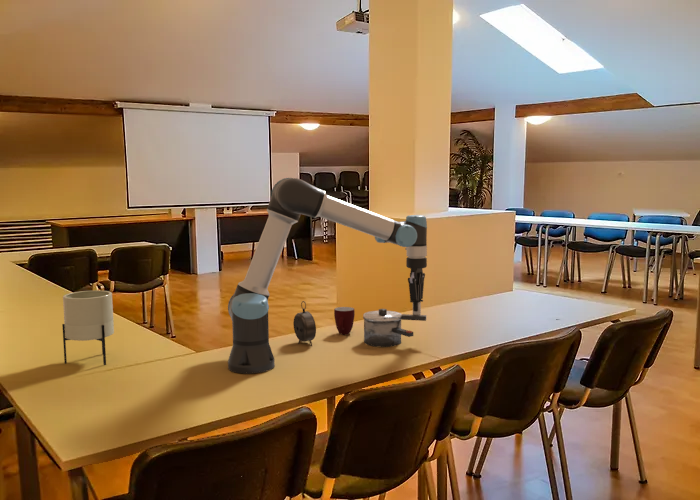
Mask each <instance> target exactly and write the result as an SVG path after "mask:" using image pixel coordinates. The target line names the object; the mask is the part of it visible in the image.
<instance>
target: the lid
mask: <svg viewBox="0 0 700 500" xmlns="http://www.w3.org/2000/svg"><path fill="white" fill-rule="evenodd" d="M362 318H363V320H364V319H365V320H367V321H371V322H395V321H399V320H401V321H419V322H420V321H421V322H423V321H424V322H427V314H421V315H413V314H407V313H406V314H405V313H403V314H402V313H401V312H398V311H393V310H388V309H387V308H379V309H378V310H371V311H366V312H364V313H363V317H362Z"/></svg>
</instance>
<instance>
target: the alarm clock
mask: <svg viewBox="0 0 700 500" xmlns="http://www.w3.org/2000/svg"><path fill="white" fill-rule="evenodd" d="M303 303H304V305H305V306H304V308H303ZM300 306H301V309H302V311H300V312H297V313H296V314H295V315H294V318H293V331H294V333H295V336H296V337H297V339H298V343H297V344H298V345H299V344H300V342H303V343H305V342H309V344H310V346H312V347H313V343H312V341H313V340H314V339H315V337H316V335H317V325H316V321H315V319H314V316H313V315H312V313H311V312H310V311H307V310H306V309H307V304H306V301H304V300H303V301H301V304H300ZM305 310H306V311H305Z"/></svg>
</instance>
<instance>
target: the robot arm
mask: <svg viewBox="0 0 700 500" xmlns="http://www.w3.org/2000/svg"><path fill="white" fill-rule="evenodd" d="M270 193H271V194H270V196H271V197H270V200H269V202H268V205H267V208H266V212H267V213H268V217H267V220H266V223H265V225H264V228H263V230H262V233H261V235H260V238H259V241H258V243H257V246H256V248H255V251H254V254H253V256H252V259H251V261H250V264H249V266H248V270H247V272H246V275H245V278H244V279H243V280H242V281H239V282H237V283H238V284H237V285H236V288H235V290H234V293H233V295H231V297H230V299H229V300H228V304H227V311H228V315H229V316H230V318H231V321H232V323H231V324H232V348H231V350H230V352H229V356H228V360H227V369H228V370H229V371H230V372H232V373H237V374H245V375H246V374H247V375H248V374H249V375H250V374H259V373H265V372H267V371H270V370H272V369H274V368H275V365H276V364H275V356H274V353H273V352H272V348H271V345H270V339H269V338H270V337H269V336H270V333H269V330H270V329H269V328H270V327H269V308H270V306H269V297H270V292H269V289H268V288H269V286H270V283H271V280H272V279H273V276H274V272H275V270H276V267H277V265H278V262H279V260H280V257H281V255H282V252H283V249H284V247H285V244H286V243H287V238H288V237H289V234H290V232H291V228H292V226H293V225H294V224H296V223H299V220H300V218H301V215H304V216H307V217H311V218H314V219H317V218H319V217H320V218H322V219H325V220H327V221H330V222H333V223H337V224H338V225H341V226H345V227H347V228H350V229H352V230H356V231H358V232H361V233H364V234H367V235H369V236H373V237H374V239H375V241H376V243H379V244H387V243H390V244H392V245H393V244H394V245H396V246H400V247H402V248H405V251H406V259H405V260H406V261H405V264H406V267H407V268H408V269H410V273H409V277H408V278H407V282H408V289H409V290H408V291H409V302H410V303H412V315H422V312H421V310H422V309H421V306H422V303H423V302H424V298H423V297H424V289H425V288H424V287H425V285H424V284H425V278H426V277H425V276H426V274H425V272H423V271H424V270H423V269H425V268H427V266H428V265H427V262H428V261H427V259H428V258H427V256H428V247H427V246H428V245H427V243H428V242H427V240H428V239H427V234H428V224H427V223H428V221H427V217H426V216H425V215H422V214H411V215H410V214H409V215H407V216H406V218H405V220H402V221H398V220H394V219H392V218H390V217H386V216H384V215H381V214H379V213H376V212H373V211H370V210H368V209H366V208H362V207H360V206H357V205H354V204H352V203H349V202H347V201H345V200H341V199H338V198H336V197H334V196H330V195H328V194H327V193H326V190H323V189H321V188H318V187H316V186H315V185H312V184H310V183H309V182H307V181H305V180H303V179H300V178H297V177H296V178H294V177H286V178H282V179H280V180H279V181H277V182H276V183H275V184H274V185H273V187H272V189H271V192H270ZM421 302H422V303H421Z"/></svg>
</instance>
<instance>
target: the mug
mask: <svg viewBox="0 0 700 500" xmlns="http://www.w3.org/2000/svg"><path fill="white" fill-rule="evenodd" d="M355 312H356V311H355V308H354V307H351V306H339V307H335V308H334V312H333V315H334V316H333V317H334V321H335V327H336V330H337V331H338V333H339V335H342V336H343V335H346V336H347V335H350V334H351V332H352V330H353V327H354V320H355Z"/></svg>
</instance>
